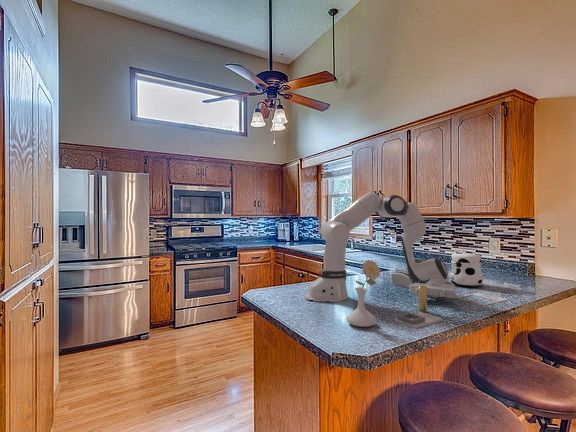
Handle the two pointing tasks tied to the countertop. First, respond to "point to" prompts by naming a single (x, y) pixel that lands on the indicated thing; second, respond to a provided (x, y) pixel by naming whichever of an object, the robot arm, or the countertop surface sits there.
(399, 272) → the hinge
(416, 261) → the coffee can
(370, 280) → the flower in vase
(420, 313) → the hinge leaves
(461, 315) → the countertop surface
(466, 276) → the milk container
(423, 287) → the hinge pin
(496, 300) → the photo frame
